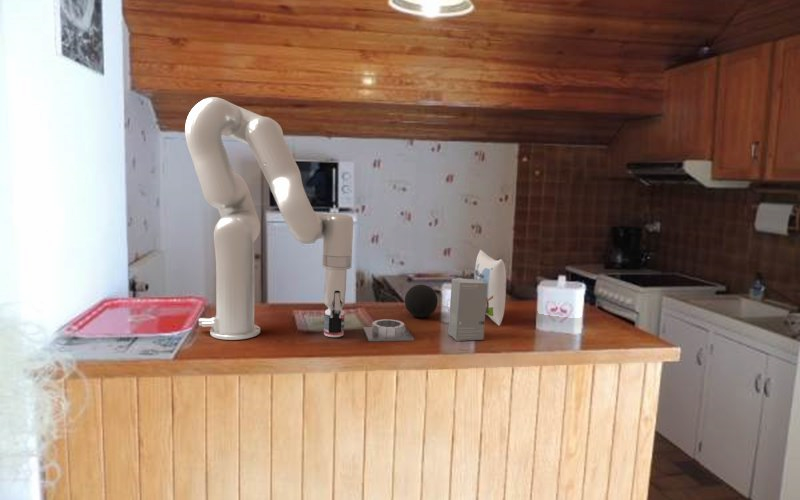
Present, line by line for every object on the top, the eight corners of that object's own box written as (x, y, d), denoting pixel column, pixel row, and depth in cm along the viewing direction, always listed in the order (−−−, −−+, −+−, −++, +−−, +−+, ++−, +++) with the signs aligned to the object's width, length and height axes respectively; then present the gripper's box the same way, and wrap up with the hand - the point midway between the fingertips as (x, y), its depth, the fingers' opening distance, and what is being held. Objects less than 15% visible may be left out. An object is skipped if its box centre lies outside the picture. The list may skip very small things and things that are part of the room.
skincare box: (456, 341, 150) (459, 282, 148) (446, 333, 157) (449, 277, 155) (485, 340, 152) (489, 282, 150) (475, 332, 159) (478, 277, 157)
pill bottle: (340, 338, 148) (341, 305, 146) (320, 336, 149) (322, 303, 147) (346, 333, 153) (347, 301, 152) (327, 330, 154) (328, 298, 153)
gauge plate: (368, 341, 147) (368, 329, 147) (363, 329, 158) (363, 318, 157) (413, 340, 149) (414, 329, 149) (405, 328, 160) (406, 318, 160)
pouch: (491, 310, 186) (495, 249, 183) (509, 326, 167) (514, 259, 164) (467, 310, 185) (471, 249, 182) (483, 326, 166) (487, 258, 163)
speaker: (439, 314, 177) (441, 283, 176) (433, 322, 167) (434, 289, 166) (408, 311, 179) (409, 280, 178) (400, 319, 170) (401, 286, 168)
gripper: (320, 255, 156) (318, 320, 158) (324, 267, 139) (321, 338, 142) (348, 256, 157) (345, 320, 160) (354, 268, 140) (351, 339, 143)
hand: (333, 328), depth 151 cm, fingers closed on pill bottle, 5 cm apart
